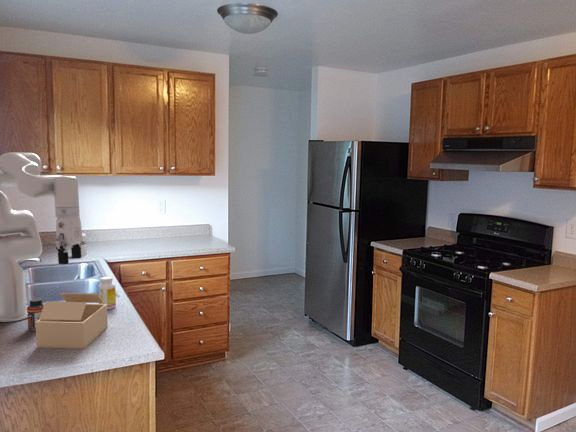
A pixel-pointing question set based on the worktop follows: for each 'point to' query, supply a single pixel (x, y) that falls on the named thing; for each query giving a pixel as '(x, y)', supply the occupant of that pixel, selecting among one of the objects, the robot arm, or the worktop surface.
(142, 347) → the worktop surface
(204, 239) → the worktop surface
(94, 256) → the worktop surface
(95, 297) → the back flap
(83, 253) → the french press
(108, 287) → the supplement bottle
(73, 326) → the carton
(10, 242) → the robot arm
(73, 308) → the front flap
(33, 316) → the supplement bottle
